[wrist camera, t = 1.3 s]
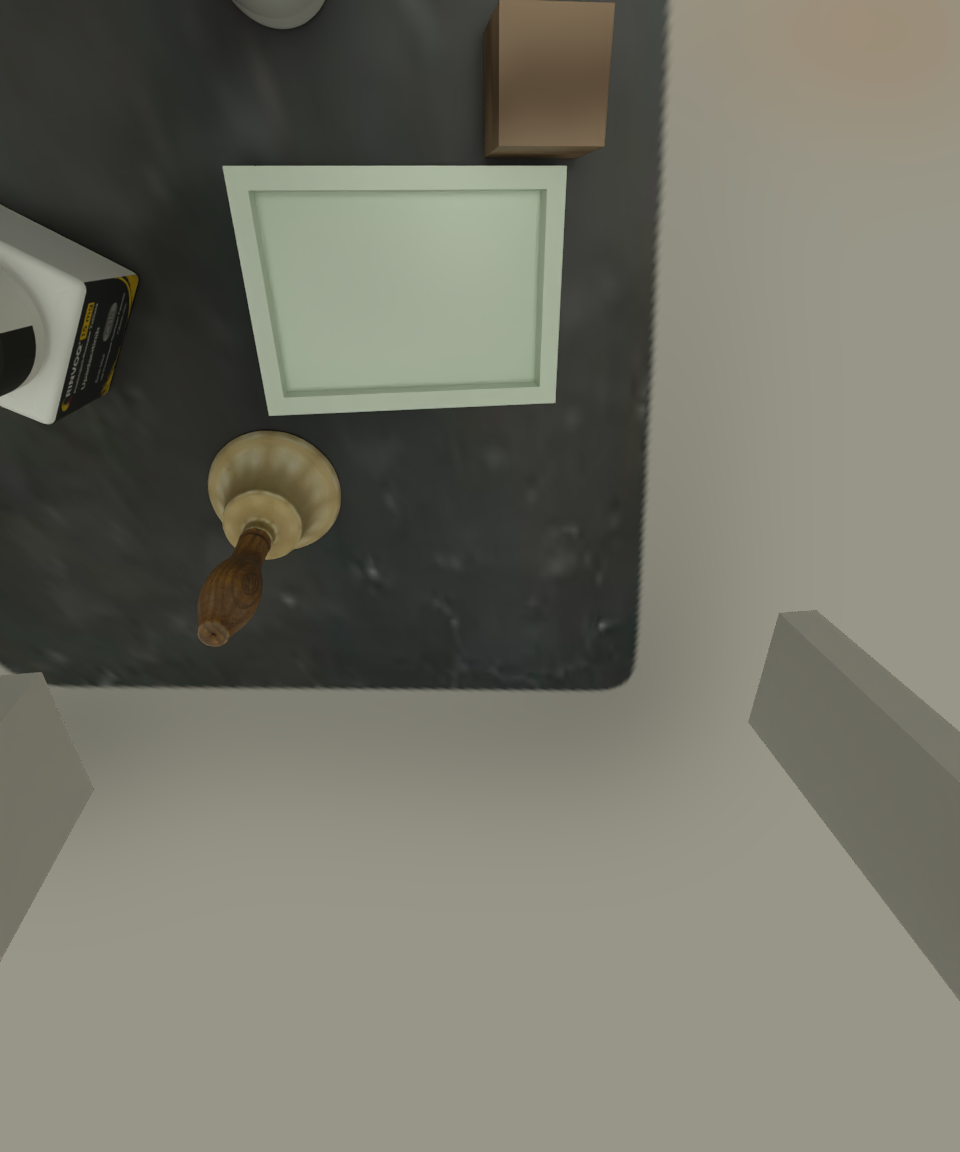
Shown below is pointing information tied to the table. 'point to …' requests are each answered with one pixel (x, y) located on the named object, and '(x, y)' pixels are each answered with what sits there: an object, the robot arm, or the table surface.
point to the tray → (401, 284)
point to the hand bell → (262, 519)
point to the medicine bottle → (57, 320)
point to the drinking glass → (280, 11)
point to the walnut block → (546, 78)
